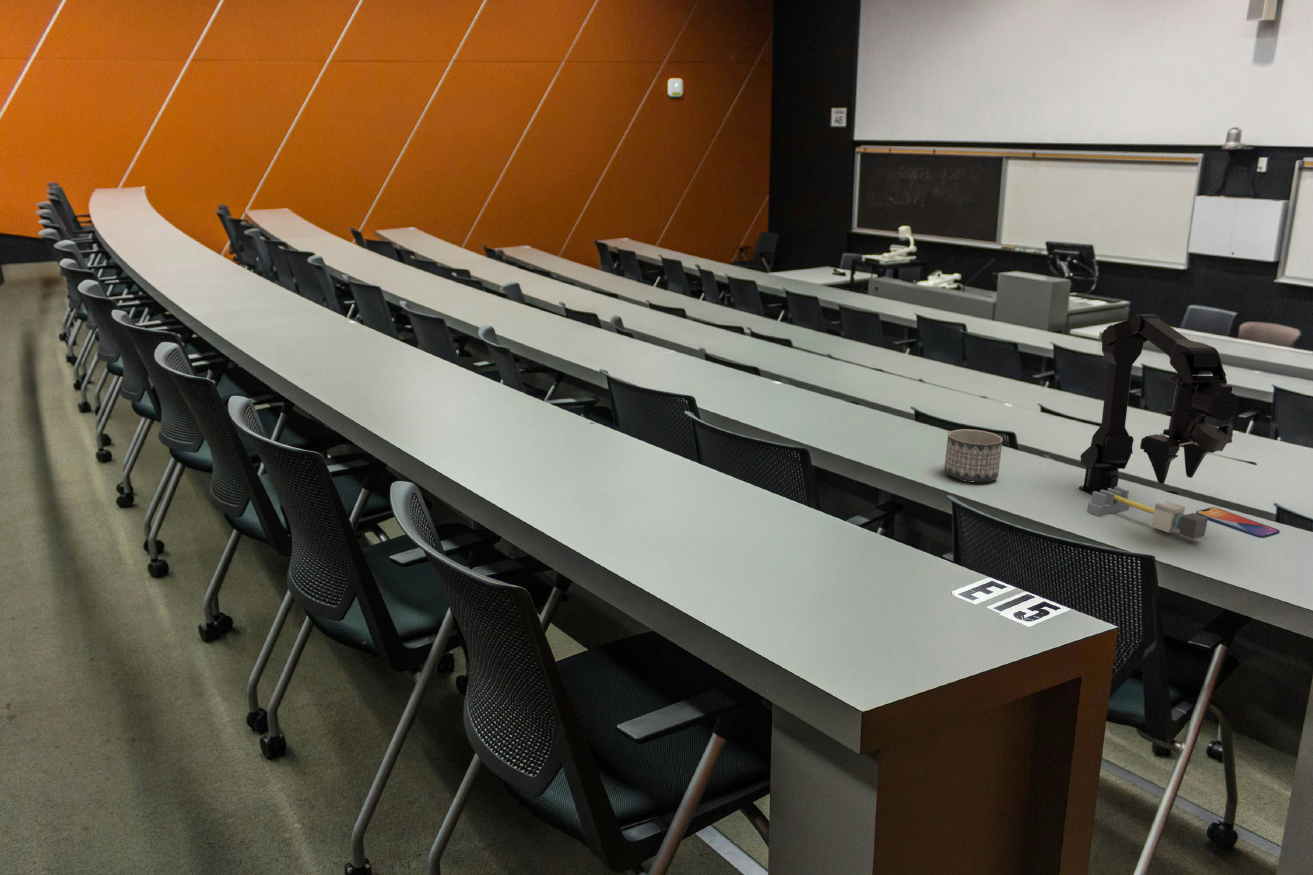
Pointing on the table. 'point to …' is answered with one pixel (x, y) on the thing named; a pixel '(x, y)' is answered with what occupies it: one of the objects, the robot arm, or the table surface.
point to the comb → (1107, 501)
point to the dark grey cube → (1193, 525)
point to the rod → (1135, 504)
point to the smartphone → (1238, 522)
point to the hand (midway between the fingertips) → (1175, 480)
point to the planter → (973, 455)
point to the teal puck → (1178, 521)
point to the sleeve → (1166, 516)
